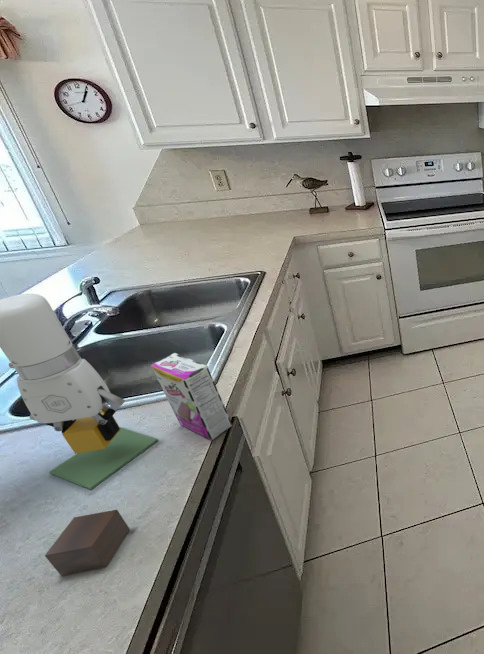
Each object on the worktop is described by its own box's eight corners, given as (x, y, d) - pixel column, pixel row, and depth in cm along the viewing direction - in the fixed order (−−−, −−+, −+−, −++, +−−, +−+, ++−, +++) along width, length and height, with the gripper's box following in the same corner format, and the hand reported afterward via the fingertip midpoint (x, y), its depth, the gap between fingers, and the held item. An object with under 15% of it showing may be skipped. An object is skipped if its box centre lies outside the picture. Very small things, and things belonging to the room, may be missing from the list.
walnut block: (61, 576, 62) (44, 555, 60) (88, 537, 67) (74, 517, 65) (106, 566, 63) (91, 546, 61) (130, 529, 68) (117, 509, 66)
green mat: (49, 473, 78) (48, 471, 78) (119, 428, 89) (118, 426, 88) (91, 490, 75) (89, 488, 75) (158, 440, 85) (157, 439, 85)
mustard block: (75, 453, 78) (61, 434, 75) (92, 434, 82) (80, 415, 80) (105, 449, 78) (92, 429, 76) (121, 429, 83) (110, 410, 81)
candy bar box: (178, 426, 89) (148, 365, 82) (201, 411, 93) (175, 351, 86) (211, 442, 84) (182, 379, 77) (234, 425, 88) (208, 364, 81)
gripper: (-30, 383, 67) (29, 462, 75) (89, 367, 70) (134, 444, 78) (9, 356, 74) (60, 431, 82) (117, 343, 77) (155, 416, 85)
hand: (96, 437), depth 80 cm, fingers closed on mustard block, 5 cm apart
